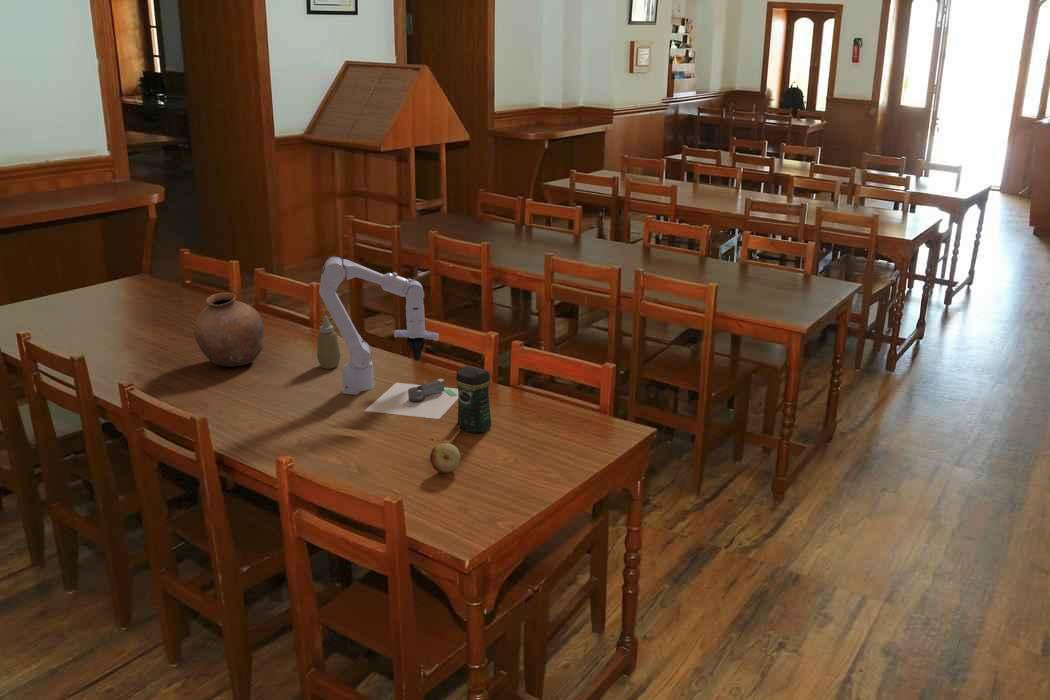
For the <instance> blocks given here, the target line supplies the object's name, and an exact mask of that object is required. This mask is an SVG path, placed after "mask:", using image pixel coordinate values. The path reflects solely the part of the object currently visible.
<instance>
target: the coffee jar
mask: <svg viewBox="0 0 1050 700" xmlns="http://www.w3.org/2000/svg"><path fill="white" fill-rule="evenodd" d="M455 382H456V386H457V389H458V399H457V401H458V402H457V403H458V404H457V406H458V407H457V424H458V426H459V428H460V429H462V430H464V431H467V432H470V433H473V434H478V433H483V432H487V431H488V430H489V429H490V428H491V427H492V416H491V415H492V414H491V408H490V397H489V392H490V391H489V387H490V383H491V377H490V372H489V370H486V369H483V368H479V367H476V366H472V365H469V364H466V365H464V366H460V367H459V368H458V369H457V371H456V376H455Z"/></svg>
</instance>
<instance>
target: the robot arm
mask: <svg viewBox="0 0 1050 700" xmlns="http://www.w3.org/2000/svg"><path fill="white" fill-rule="evenodd" d="M345 277H346V278H345ZM354 278H358V279H361V280H365V281H367V282H371V283H374V284H378V285H380V286H381V289H382V290H383V291H385V292H388V293H391V294H394V295H396V296H399V297H401V298H402V297H403V298H404V297H405V301H406V304H405V319H406V329H395V330H394V331H393V336H394V338H407V340H406V342H405V343H406V344H407V346H408V347H409V349H410V350H411V353H412V354H411V355H412V356H413V359H414V360H413V361H417V362H418V361H420V360H421V357H422V353H423V349H424V347H425V344H426V341H427V340H429V341H430V340H433V341H439V339H440V337H439V335H440V334H439V333H438V332H434V331H433V332H432V331H429V330H426V325H425V324H426V322H425V321H426V320H425V305H424V298H425V291H424V287H423V285H422V284H421V282H420V281H417V280H416V279H411V278H405V277H402V276H400V275H398V273H397V272H392V273H391V272H387V273H385V274H383V273H380V272H378V271H376V270H373V269H371V268H368V267H366V266H363V265H362V264H359V263H356V262H354V261H351V260H349V259H345V258H343V259H342V258H341V257H338V256H331V257H329V258H327V260H325V262H324V264H323V267H322V268H321V277H320V281H319V282H320V283H319V292H318V293H319V296H320V298H321V299H322V301H323V303H324V305H325V307H326V309H327V310H328V313H329V314H330V316H331V319H332V320H333V322H334V324H335V326H336V328H337V329H338V331H339V333H340V334H341V336H342V339H343V340H344V342H345V345H346V348H347V350H348V353H349V355H350V362H348V363H345V364H344V366H343V368H342V370H341V376H342V377H341V378H342V389H343V391H342V392H341V393H342V394H346V395H353V396H354V395H355V396H356V395H358V394H359V393H361V392H364V391H370V390H372V389H373V388H374V387H375V379H374V365H373V363H374V362H373V361H372V356H371V346H370V344H368V343H367V342H366V341H365V340H363V337H362V336H361V335H360V334H359V332H358V330H357V328H356V327H355V325H354V323H353V322H352V319H351V317H350V316H349V314H348V312H347V310H346V308H345V306H344V304H343V303H342V301H341V299H340V297H339V295H338V293H337V290H338V288H339V285H340V284H341V283H342V282H343V281H344V280H345V279H346V280H347V281H348V280H351V279H354Z"/></svg>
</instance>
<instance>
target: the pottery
mask: <svg viewBox="0 0 1050 700" xmlns="http://www.w3.org/2000/svg"><path fill="white" fill-rule="evenodd" d="M236 297H237V296H236V295H235V293H233V292H220V293H219V292H218V293H214V294H211V295H210V296H208V297H206V300H205V303H206V307H205V308H203V309H202V311H201V312H199V314H198V316H197V317H196V320H195V322H194V328H193V329H194V330H193V333H194V338H195V341H196V343H197V346H198V347H199V349H200V350H201V352H202V353H203V355H204V356H205V357H206V359H207V360H209V361H210V362H211V363H213V364H215V365H217V366H221V367H225V368H227V367H228V368H231V367H233V368H234V367H235V368H236V367H241V366H246V365H248V364H251V363H252V362H253V361H255V360H256V359H257V358H258V356H259V355H260V354H261V352H262V351H263V348H264V343H265V331H264V330H265V329H264V321H263V320H262V316H261V315H260V313H259V312H258V311H257V310H256V309H255V308H254V307H253V306H251V305H250V304H248V303H245V302H243V301H239V300H236Z"/></svg>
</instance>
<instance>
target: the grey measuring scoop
mask: <svg viewBox="0 0 1050 700" xmlns="http://www.w3.org/2000/svg"><path fill="white" fill-rule="evenodd" d="M420 385H421V386H417V387H413V388H410V389H408V400H409V401H411V402H421V401H423V400H424V399H425V397H426V396H430V395H433V394H436V393H439V392H443V391H444V387H445V379H443V378H438V379H436V380H435V381H432V382H428V383H425V384H420Z"/></svg>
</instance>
